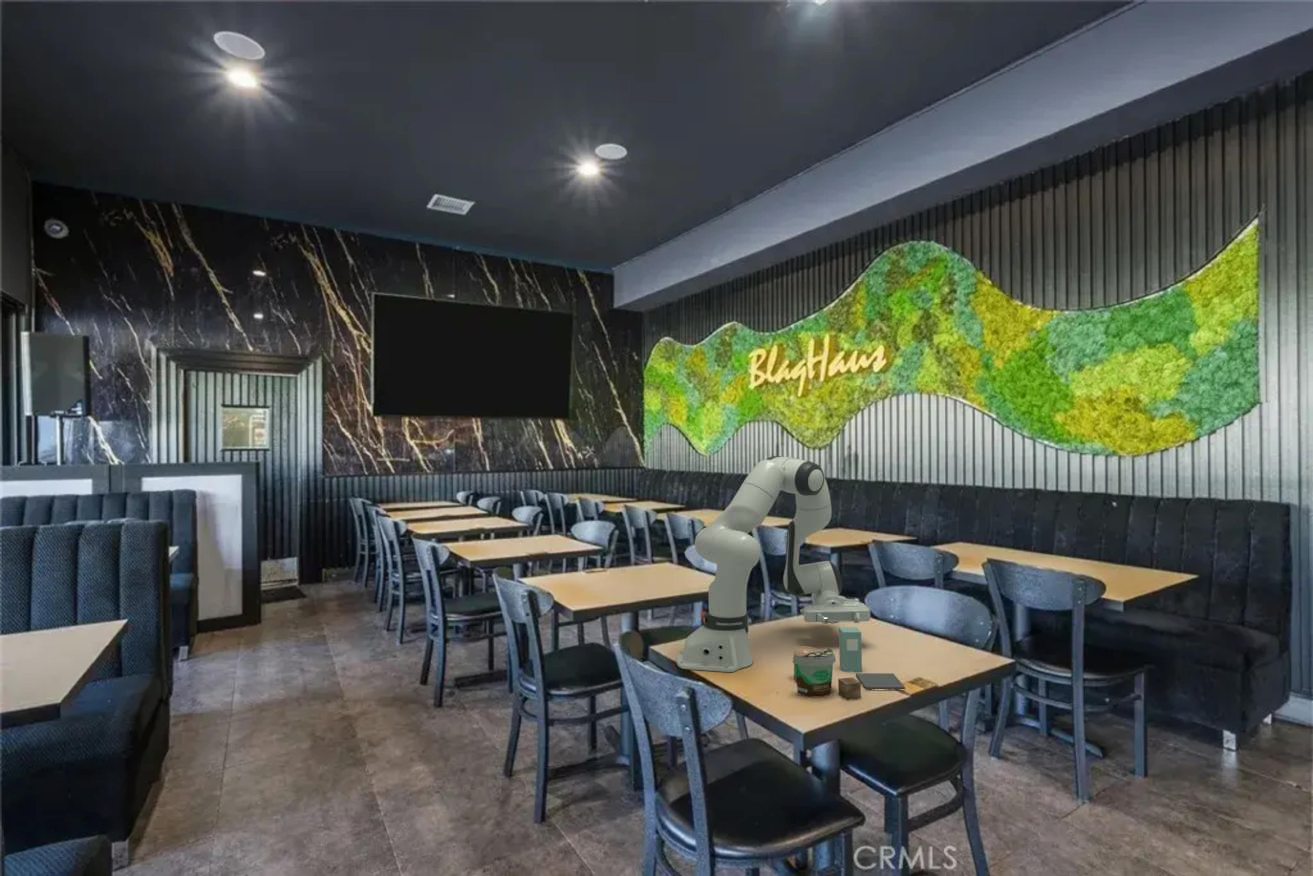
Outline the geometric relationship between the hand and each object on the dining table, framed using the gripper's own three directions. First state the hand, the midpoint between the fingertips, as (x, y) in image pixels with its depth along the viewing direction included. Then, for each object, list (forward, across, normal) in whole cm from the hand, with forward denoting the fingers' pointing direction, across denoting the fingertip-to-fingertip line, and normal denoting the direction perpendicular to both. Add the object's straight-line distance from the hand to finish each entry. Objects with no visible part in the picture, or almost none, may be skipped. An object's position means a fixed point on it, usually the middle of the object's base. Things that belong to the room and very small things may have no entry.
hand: (841, 620), depth 195 cm
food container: (+30, -12, +10) cm, 34 cm away
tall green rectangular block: (+12, 0, +10) cm, 16 cm away
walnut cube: (+32, -6, +10) cm, 34 cm away
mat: (+23, +4, +10) cm, 26 cm away
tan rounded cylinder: (+20, -14, +10) cm, 27 cm away
